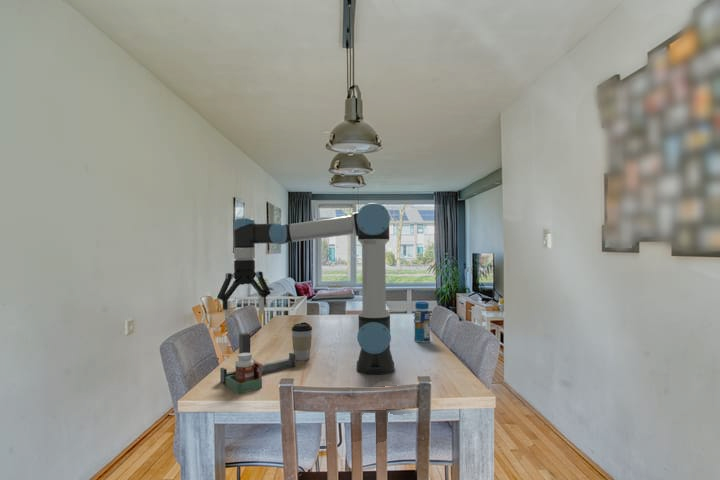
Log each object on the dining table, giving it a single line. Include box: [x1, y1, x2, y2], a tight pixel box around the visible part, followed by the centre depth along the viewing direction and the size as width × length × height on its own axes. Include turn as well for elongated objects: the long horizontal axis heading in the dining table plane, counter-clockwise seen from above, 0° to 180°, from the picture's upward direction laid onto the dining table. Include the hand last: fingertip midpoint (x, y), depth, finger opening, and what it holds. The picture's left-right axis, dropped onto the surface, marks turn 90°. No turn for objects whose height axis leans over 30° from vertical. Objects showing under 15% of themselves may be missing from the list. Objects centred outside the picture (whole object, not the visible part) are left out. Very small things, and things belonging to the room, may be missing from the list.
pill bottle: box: [235, 352, 255, 383], centre depth 137 cm, size 6×6×11 cm
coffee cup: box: [291, 322, 313, 361], centre depth 171 cm, size 9×9×15 cm
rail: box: [219, 352, 296, 385], centre depth 150 cm, size 3×30×5 cm, turn 132°
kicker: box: [235, 332, 263, 380], centre depth 142 cm, size 14×6×16 cm, turn 42°
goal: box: [224, 374, 263, 395], centre depth 136 cm, size 11×8×3 cm
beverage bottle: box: [413, 301, 431, 344], centre depth 201 cm, size 8×8×20 cm
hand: (245, 316), depth 146 cm, fingers open, 13 cm apart
